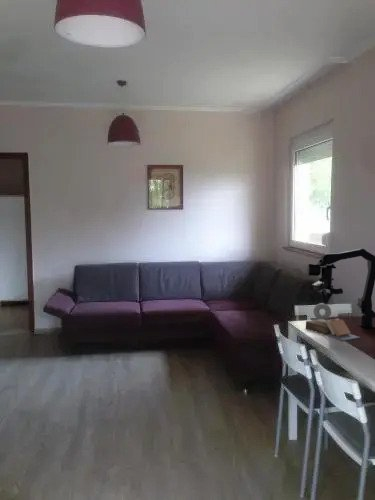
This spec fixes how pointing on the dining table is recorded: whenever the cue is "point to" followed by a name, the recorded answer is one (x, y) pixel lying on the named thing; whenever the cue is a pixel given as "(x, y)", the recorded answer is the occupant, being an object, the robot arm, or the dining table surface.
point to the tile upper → (339, 328)
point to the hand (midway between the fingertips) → (325, 304)
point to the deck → (318, 326)
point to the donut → (325, 307)
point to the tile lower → (330, 326)
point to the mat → (343, 337)
